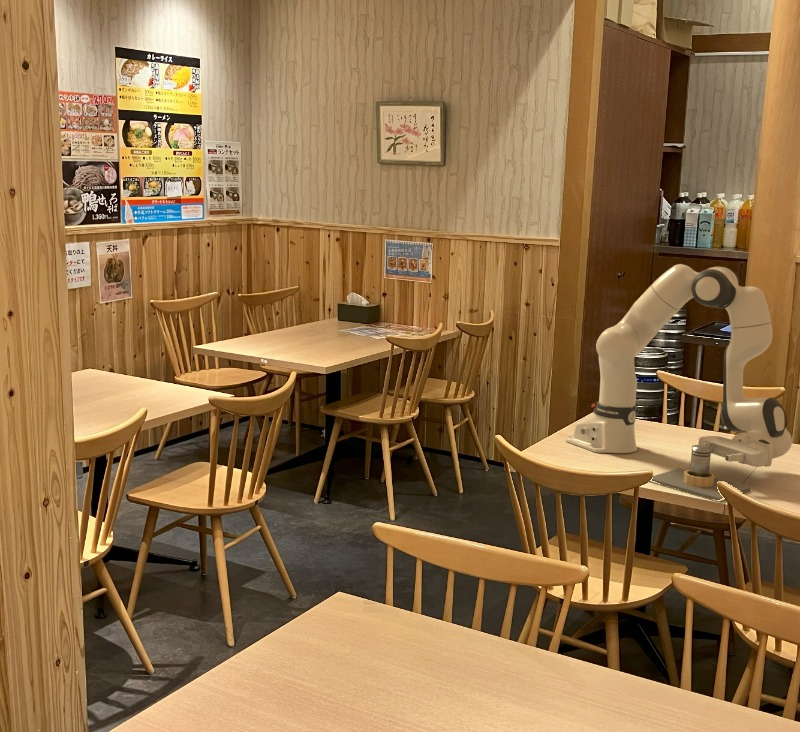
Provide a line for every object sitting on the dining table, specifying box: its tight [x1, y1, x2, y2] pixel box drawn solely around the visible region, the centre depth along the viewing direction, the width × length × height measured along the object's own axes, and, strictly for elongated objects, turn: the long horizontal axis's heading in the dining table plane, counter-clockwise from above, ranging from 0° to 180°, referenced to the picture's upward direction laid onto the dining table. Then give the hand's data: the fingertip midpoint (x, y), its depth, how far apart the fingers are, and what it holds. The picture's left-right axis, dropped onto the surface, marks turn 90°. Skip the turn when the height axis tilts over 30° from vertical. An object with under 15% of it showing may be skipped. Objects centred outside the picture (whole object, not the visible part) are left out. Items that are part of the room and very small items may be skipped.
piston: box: [689, 444, 712, 477], centre depth 265 cm, size 5×5×10 cm
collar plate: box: [652, 467, 751, 500], centre depth 266 cm, size 22×16×4 cm
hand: (713, 453), depth 267 cm, fingers open, 8 cm apart
